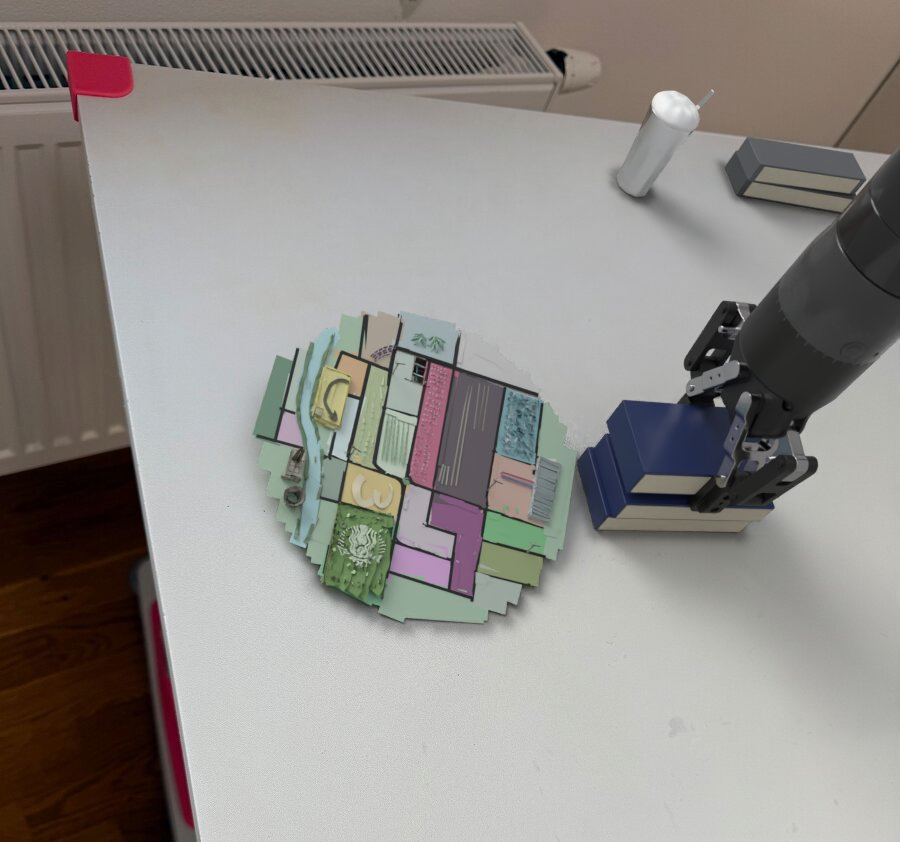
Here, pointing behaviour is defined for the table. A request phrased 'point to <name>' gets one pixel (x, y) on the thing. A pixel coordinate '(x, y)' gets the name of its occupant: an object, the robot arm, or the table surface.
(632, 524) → the navy stack
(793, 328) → the robot arm
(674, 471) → the navy book
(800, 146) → the grey stack
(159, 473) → the table surface
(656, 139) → the milkshake
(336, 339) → the city model
